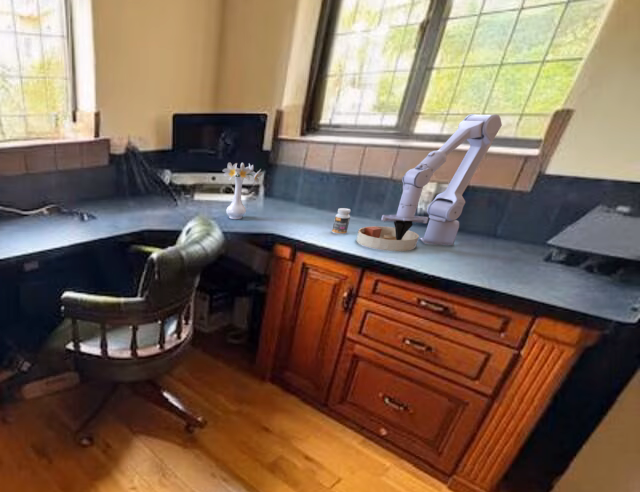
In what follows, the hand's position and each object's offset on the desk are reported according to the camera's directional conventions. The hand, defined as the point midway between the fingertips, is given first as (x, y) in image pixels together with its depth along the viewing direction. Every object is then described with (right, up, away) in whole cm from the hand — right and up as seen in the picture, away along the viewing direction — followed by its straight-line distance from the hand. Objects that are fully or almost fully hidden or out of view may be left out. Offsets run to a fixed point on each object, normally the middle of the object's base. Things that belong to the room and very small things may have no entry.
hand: (397, 240), depth 159 cm
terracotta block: (-5, +3, +9) cm, 11 cm away
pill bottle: (-13, +7, +18) cm, 24 cm away
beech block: (-6, -3, -3) cm, 8 cm away
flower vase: (-49, +21, +46) cm, 71 cm away
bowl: (-3, -1, +3) cm, 4 cm away
